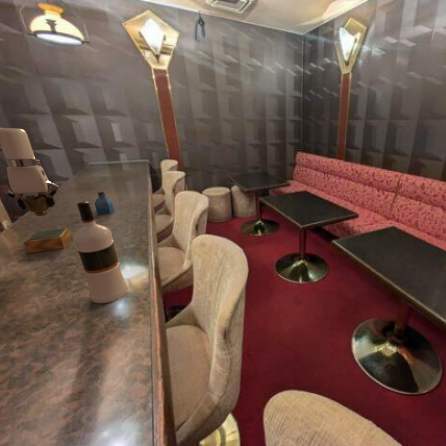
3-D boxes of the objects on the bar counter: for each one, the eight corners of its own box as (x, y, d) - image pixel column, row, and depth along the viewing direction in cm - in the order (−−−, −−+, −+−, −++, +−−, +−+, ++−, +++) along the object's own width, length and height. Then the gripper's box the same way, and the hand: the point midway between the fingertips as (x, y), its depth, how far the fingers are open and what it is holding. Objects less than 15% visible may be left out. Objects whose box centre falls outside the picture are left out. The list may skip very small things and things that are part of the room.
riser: (28, 253, 98) (23, 241, 96) (39, 242, 107) (34, 231, 105) (64, 248, 103) (60, 236, 101) (71, 238, 112) (68, 227, 110)
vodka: (83, 303, 72) (48, 206, 61) (108, 285, 81) (81, 196, 70) (113, 306, 72) (84, 208, 61) (135, 287, 80) (113, 198, 69)
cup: (27, 219, 96) (19, 199, 93) (29, 214, 101) (22, 195, 98) (53, 215, 100) (46, 196, 97) (54, 210, 105) (48, 192, 102)
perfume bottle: (97, 214, 141) (91, 193, 137) (102, 210, 147) (97, 191, 142) (110, 213, 143) (105, 193, 139) (114, 210, 148) (109, 190, 144)
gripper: (56, 161, 100) (69, 202, 106) (-6, 162, 92) (12, 207, 98) (49, 163, 94) (64, 207, 100) (-17, 165, 86) (3, 213, 92)
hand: (38, 207), depth 99 cm, fingers closed on cup, 7 cm apart
